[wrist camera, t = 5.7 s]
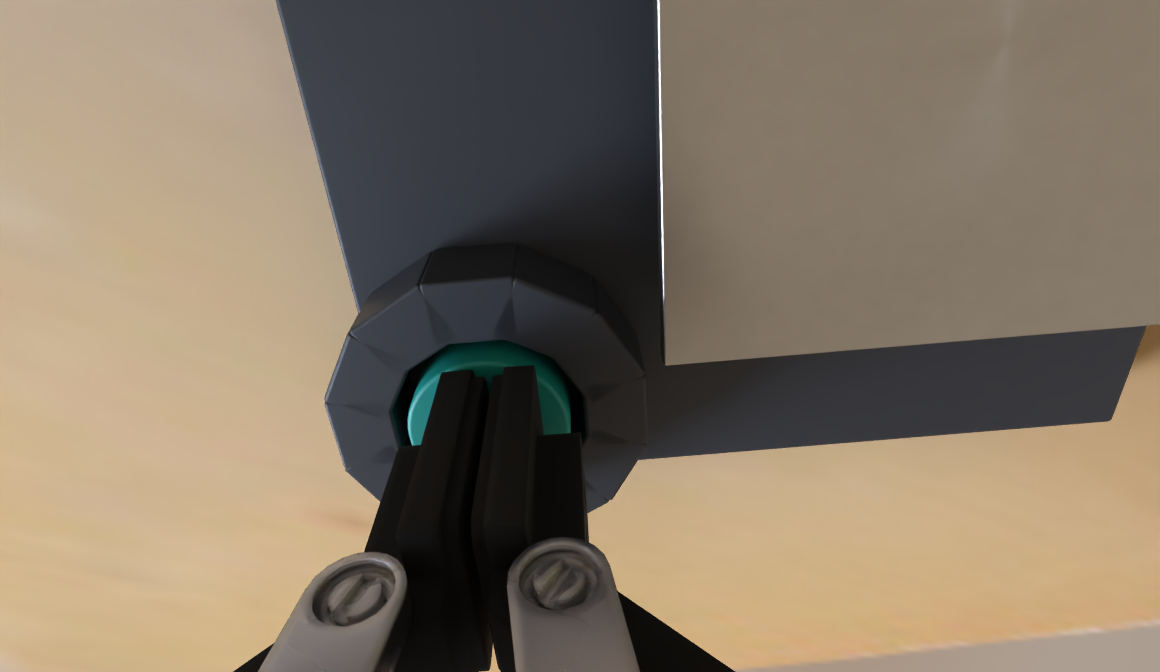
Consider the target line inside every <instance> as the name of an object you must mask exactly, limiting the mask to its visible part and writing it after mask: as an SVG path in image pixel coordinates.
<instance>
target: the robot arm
mask: <svg viewBox="0 0 1160 672" xmlns="http://www.w3.org/2000/svg"><path fill="white" fill-rule="evenodd" d="M493 645H494V650H495V655H496V659H497V664H498V668H499V670H501V672H735V671H733V670H732V669H730V668H729V667H728V666H726V665H725V664H723V663H722V662H720V661H719V660H717V659H716V658H714V657H713V656H711V655H710V654H709V653H707V652H706V651H704V650H703V649H701V648H700V647H698V646H697V645H695V644H694V643H692V642H691V641H690V640H688V639H687V638H685V637H684V636H682V635H681V634H679V633H678V632H676V631H675V630H673V629H672V628H671V627H669V626H668V625H666V624H665V623H663V622H662V621H660V620H659V619H657V618H656V617H655V616H653V615H652V614H650V613H649V612H647V611H646V610H644V609H643V608H641V607H640V606H638V605H637V604H636V603H634V602H633V601H631V600H630V599H628V598H627V597H625V596H624V595H622V594H621V593H619V592H618V591H617V589H616V585H615V582H614V578H613V575H612V571H611V568H610V565H609V563H608V561H607V559H606V557H605V555H604V554H603V553H602V552H601V551H600V550H599V549H598V548H597V547H596V546H595V545H593V544H591V543H589V536H588V517H587V501H586V487H585V475H584V463H583V453H582V442H581V434H580V432H577V433H565V434H552V435H544V432H543V424H542V416H541V408H540V400H539V392H538V385H537V376H536V370H535V366H534V365H525V366H512V367H504V370H503V375H498V376H493V379H492V385H491V391H490V398H489V394H488V388H487V383H486V379H485V377H475V374H474V371H473V370H463V371H450V372H442V373H441V375H440V378H439V382H438V385H437V389H436V392H435V396H434V399H433V403H432V406H431V410H430V414H429V417H428V421H427V424H426V428H425V431H424V435H423V438H422V442H421V445H413V446H402V447H400V448H399V450H398V452H397V454H396V457H395V460H394V463H393V466H392V469H391V472H390V475H389V478H388V481H387V484H386V487H385V490H384V493H383V496H382V499H381V502H380V505H379V508H378V511H377V514H376V517H375V521H374V524H373V527H372V530H371V533H370V536H369V539H368V542H367V545H366V548H365V551H364V552H363V553H357V554H354V555H350V556H347V557H344V558H342V559H340V560H338V561H336V562H334V563H332V564H331V565H329V566H327V567H326V568H325V569H324V570H322V571H321V572H320V573H319V574H318V575H316V576H315V577H314V579H313V580H312V581H311V583H310V584H309V585H308V587H307V588H306V589H305V591H304V593H303V594H302V596H301V598H300V600H299V601H298V603H297V605H296V606H295V608H294V610H293V612H292V613H291V615H290V617H289V619H288V620H287V622H286V624H285V625H284V627H283V629H282V631H281V632H280V634H279V636H278V638H277V639H276V641H275V643H273V644H272V645H271V646H269V647H268V648H266V649H265V650H263V651H262V652H261V653H259V654H258V655H256V656H255V657H253V658H252V659H251V660H249V661H248V662H246V663H245V664H244V665H242V666H241V667H239V668H238V669H236V670H235V671H234V672H478V671H489V669H490V666H491V657H492V647H493Z"/></svg>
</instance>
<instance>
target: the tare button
mask: <svg viewBox="0 0 1160 672" xmlns="http://www.w3.org/2000/svg"><path fill="white" fill-rule="evenodd" d="M525 365H534V366H535V370H536V376H537V385H538V392H539V400H540V408H541V416H542V424H543V432H544V435H552V434H565V433H571V414H570V388H569V378H568V376H567V375H566V374H565V372H564V371H563V370H562V369H561V368H560V366H559V365H558V364H557V363H556V362H555V360H554V359H553V358H551V357H549V356H546V355H544V354H541V353H538V352H536V351H533V350H531V349H528V348H526V347H523V346H520V345H518V344H515V343H513V342H510V341H508V340H494V341H482V342H470V343H458V344H449V345H447V346H446V347H444V348H443V349H441V350H439V351H438V352H436V353H435V354H433V355H432V356H430V357H429V358H427V359H426V360H425V362H424V365H423V368H422V371H421V374H420V377H419V381H418V384H417V387H416V390H415V393H414V396H413V399H412V402H411V405H410V409H409V413H408V433H409V437H410V440H411V443H412V446H413V445H421V442H422V438H423V435H424V431H425V428H426V424H427V421H428V417H429V414H430V410H431V406H432V403H433V399H434V396H435V392H436V389H437V385H438V382H439V378H440V375H441V373H442V372H450V371H463V370H473V371H474V374H475V377H485V379H486V383H487V388H488V394H489V398H490V391H491V385H492V379H493V376H498V375H503V370H504V367H512V366H525Z"/></svg>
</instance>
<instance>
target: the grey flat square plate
mask: <svg viewBox="0 0 1160 672" xmlns="http://www.w3.org/2000/svg"><path fill="white" fill-rule="evenodd" d="M654 49H655V97H656V145H657V194H658V242H659V290H660V339H661V357H662V360H663V364H664V365H666V366H668V365H680V364H692V363H704V362H716V361H728V360H740V359H752V358H764V357H776V356H788V355H800V354H812V353H824V352H836V351H848V350H860V349H873V348H885V347H897V346H909V345H921V344H933V343H945V342H957V341H969V340H981V339H993V338H1005V337H1017V336H1029V335H1041V334H1053V333H1065V332H1077V331H1089V330H1102V329H1114V328H1126V327H1138V326H1150V325H1160V0H654Z"/></svg>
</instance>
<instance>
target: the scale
mask: <svg viewBox="0 0 1160 672" xmlns="http://www.w3.org/2000/svg"><path fill="white" fill-rule="evenodd" d="M276 3H277V7H278V10H279V14H280V18H281V22H282V26H283V29H284V33H285V37H286V41H287V44H288V48H289V52H290V56H291V60H292V63H293V67H294V71H295V75H296V79H297V82H298V86H299V90H300V94H301V98H302V101H303V105H304V109H305V113H306V116H307V120H308V124H309V128H310V132H311V135H312V139H313V143H314V147H315V151H316V154H317V158H318V162H319V166H320V170H321V173H322V177H323V181H324V185H325V188H326V192H327V196H328V200H329V204H330V207H331V211H332V215H333V219H334V223H335V226H336V230H337V234H338V238H339V242H340V245H341V249H342V253H343V257H344V260H345V264H346V268H347V272H348V276H349V279H350V283H351V287H352V291H353V295H354V298H355V302H356V306H357V310H358V316H357V318H356V319H355V321H354V323H353V325H352V327H351V329H350V330H349V332H348V334H347V336H346V339H345V342H344V345H343V348H342V350H341V353H340V356H339V359H338V361H337V364H336V367H335V370H334V372H333V375H332V378H331V381H330V384H329V386H328V389H327V392H326V395H325V407H326V410H327V413H328V416H329V420H330V423H331V426H332V429H333V432H334V436H335V439H336V442H337V445H338V448H339V451H340V455H341V458H342V461H343V464H344V467H345V468H346V469H345V470H346V471H347V472H348V473H349V474H350V475H351V476H352V477H353V478H354V479H355V480H357V481H358V482H359V483H360V484H361V485H362V486H363V487H364V488H366V489H367V490H368V491H369V492H370V493H371V494H372V495H373V496H375V497H376V498H377V499H378V500H379V501H380V502H381V499H382V496H383V493H384V490H385V487H386V484H387V481H388V478H389V475H390V472H391V469H392V466H393V463H394V460H395V457H396V454H397V452H398V450H399V448H400V447H402V446H412V443H411V440H410V437H409V433H408V413H409V409H410V405H411V402H412V399H413V396H414V393H415V390H416V387H417V384H418V381H419V377H420V374H421V371H422V368H423V365H424V362H425V360H426V359H427V358H429V357H430V356H432V355H433V354H435V353H436V352H438V351H439V350H441V349H443V348H444V347H446V346H447V345H449V344H458V343H470V342H482V341H494V340H508V341H510V342H513V343H515V344H518V345H520V346H523V347H526V348H528V349H531V350H533V351H536V352H538V353H541V354H544V355H546V356H549V357H551V358H553V359H554V360H555V362H556V363H557V364H558V365H559V366H560V368H561V369H562V370H563V371H564V372H565V374H566V375H567V376H568V378H569V388H570V414H571V433H577V432H580V434H581V442H582V453H583V463H584V475H585V487H586V501H587V513H589V512H591V511H593V510H594V509H596V508H598V507H600V506H602V505H604V504H606V503H607V502H608V501H609V500H612V499H613V497H614V496H615V494H616V493H617V491H618V490H619V488H620V487H621V485H622V484H623V482H624V481H625V479H626V478H627V476H628V474H629V473H630V471H631V470H632V468H633V467H634V465H635V464H636V462H637V461H638V460H643V459H655V458H667V457H679V456H691V455H703V454H716V453H728V452H740V451H752V450H764V449H776V448H789V447H801V446H813V445H825V444H837V443H850V442H862V441H874V440H886V439H898V438H910V437H923V436H935V435H947V434H959V433H971V432H983V431H996V430H1008V429H1020V428H1032V427H1044V426H1056V425H1069V424H1081V423H1093V422H1105V421H1110V420H1111V419H1112V417H1113V414H1114V411H1115V409H1116V406H1117V403H1118V401H1119V398H1120V395H1121V393H1122V390H1123V387H1124V385H1125V382H1126V379H1127V377H1128V374H1129V371H1130V369H1131V366H1132V363H1133V361H1134V358H1135V355H1136V353H1137V350H1138V347H1139V345H1140V342H1141V339H1142V337H1143V334H1144V331H1145V329H1146V326H1138V327H1126V328H1114V329H1102V330H1089V331H1077V332H1065V333H1053V334H1041V335H1029V336H1017V337H1005V338H993V339H981V340H969V341H957V342H945V343H933V344H921V345H909V346H897V347H885V348H873V349H860V350H848V351H836V352H824V353H812V354H800V355H788V356H776V357H764V358H752V359H740V360H728V361H716V362H704V363H692V364H680V365H668V366H666V365H664V364H663V360H662V357H661V339H660V290H659V242H658V194H657V145H656V97H655V49H654V0H276Z"/></svg>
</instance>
